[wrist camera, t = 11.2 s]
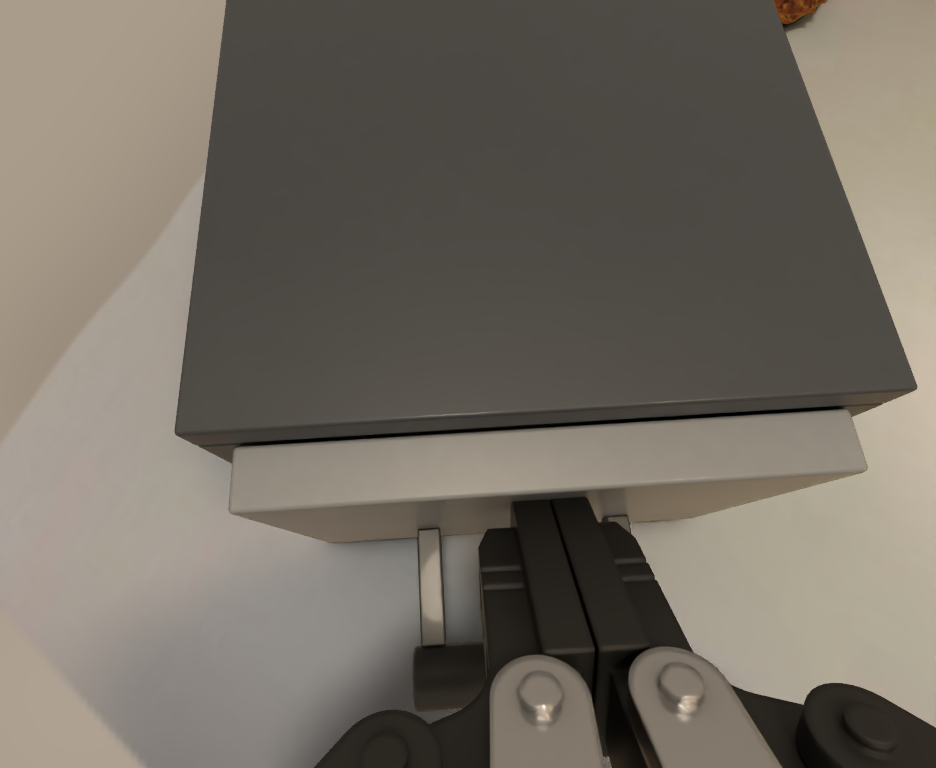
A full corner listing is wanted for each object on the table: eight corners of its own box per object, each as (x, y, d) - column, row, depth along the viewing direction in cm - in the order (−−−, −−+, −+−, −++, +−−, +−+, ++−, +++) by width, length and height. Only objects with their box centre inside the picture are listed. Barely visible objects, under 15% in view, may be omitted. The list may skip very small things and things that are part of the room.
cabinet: (692, 483, 18) (920, 389, 9) (317, 508, 18) (172, 435, 9) (621, 144, 23) (725, -133, 14) (326, 156, 23) (239, -123, 14)
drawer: (723, 667, 16) (960, 744, 8) (326, 698, 15) (201, 811, 8) (622, 172, 22) (706, -37, 14) (335, 185, 21) (270, -24, 14)
